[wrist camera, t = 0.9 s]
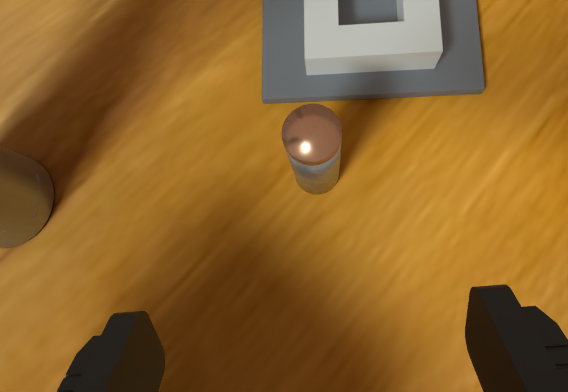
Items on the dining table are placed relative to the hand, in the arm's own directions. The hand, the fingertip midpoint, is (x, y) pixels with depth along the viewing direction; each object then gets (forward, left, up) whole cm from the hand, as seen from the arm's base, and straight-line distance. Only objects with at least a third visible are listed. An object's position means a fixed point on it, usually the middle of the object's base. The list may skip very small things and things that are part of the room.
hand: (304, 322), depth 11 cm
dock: (+5, +26, -27) cm, 37 cm away
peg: (0, +11, -27) cm, 29 cm away
